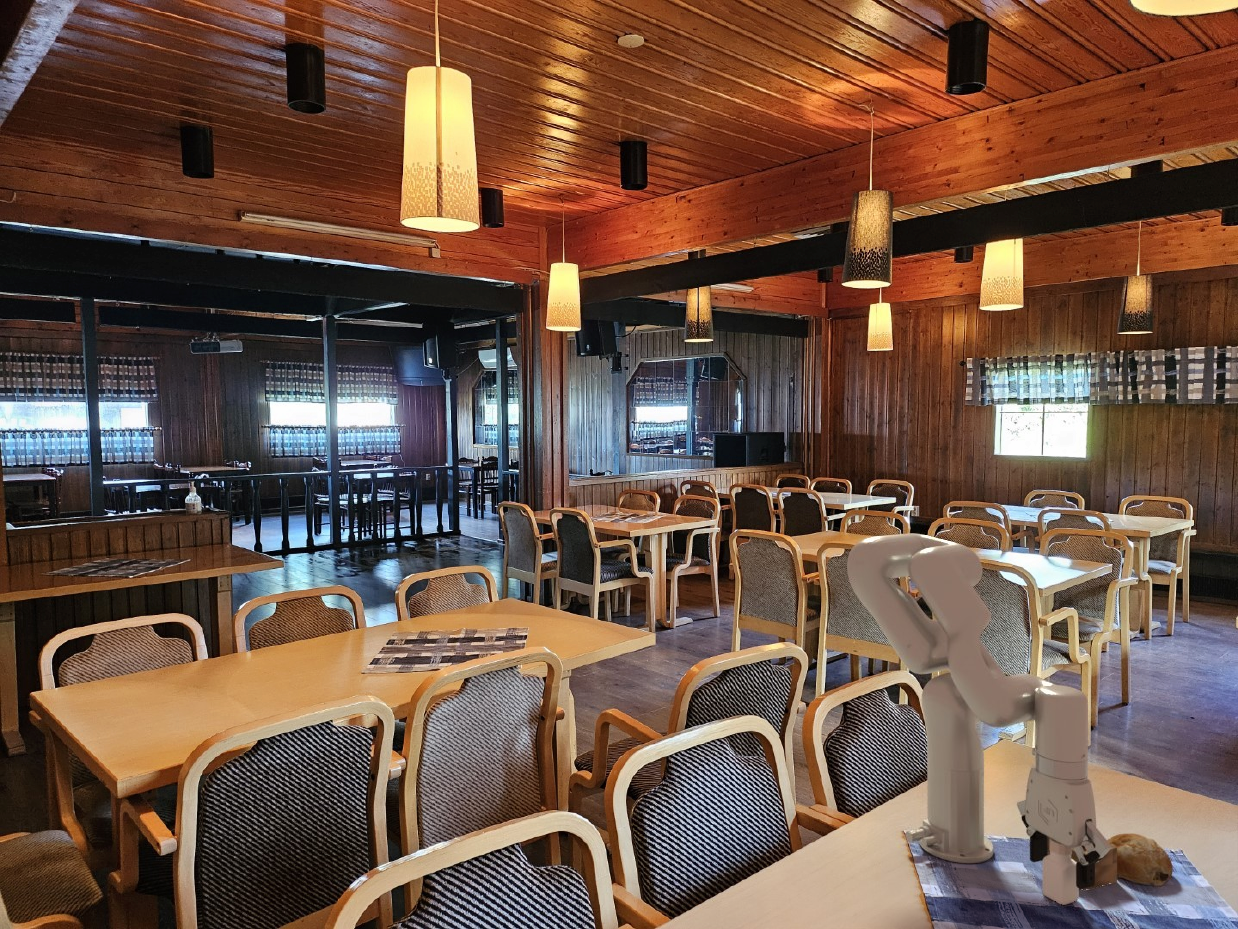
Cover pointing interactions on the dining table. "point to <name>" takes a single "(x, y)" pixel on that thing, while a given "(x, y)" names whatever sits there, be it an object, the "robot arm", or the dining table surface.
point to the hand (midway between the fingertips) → (1061, 872)
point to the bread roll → (1141, 860)
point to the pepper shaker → (1060, 874)
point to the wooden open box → (1101, 866)
